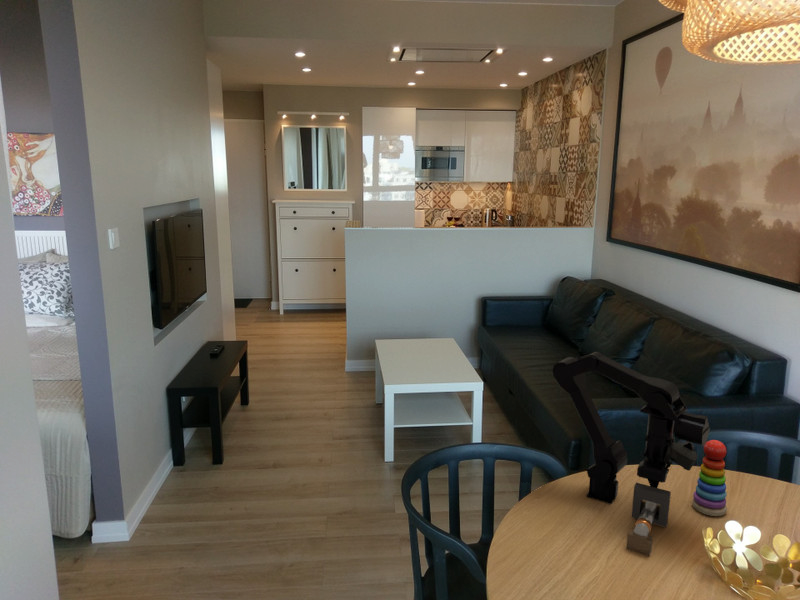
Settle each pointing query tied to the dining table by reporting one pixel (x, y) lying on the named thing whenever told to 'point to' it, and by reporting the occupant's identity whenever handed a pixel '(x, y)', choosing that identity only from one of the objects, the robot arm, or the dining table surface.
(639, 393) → the robot arm
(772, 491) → the dining table surface
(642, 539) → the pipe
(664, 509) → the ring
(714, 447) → the stacking toy
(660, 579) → the dining table surface
